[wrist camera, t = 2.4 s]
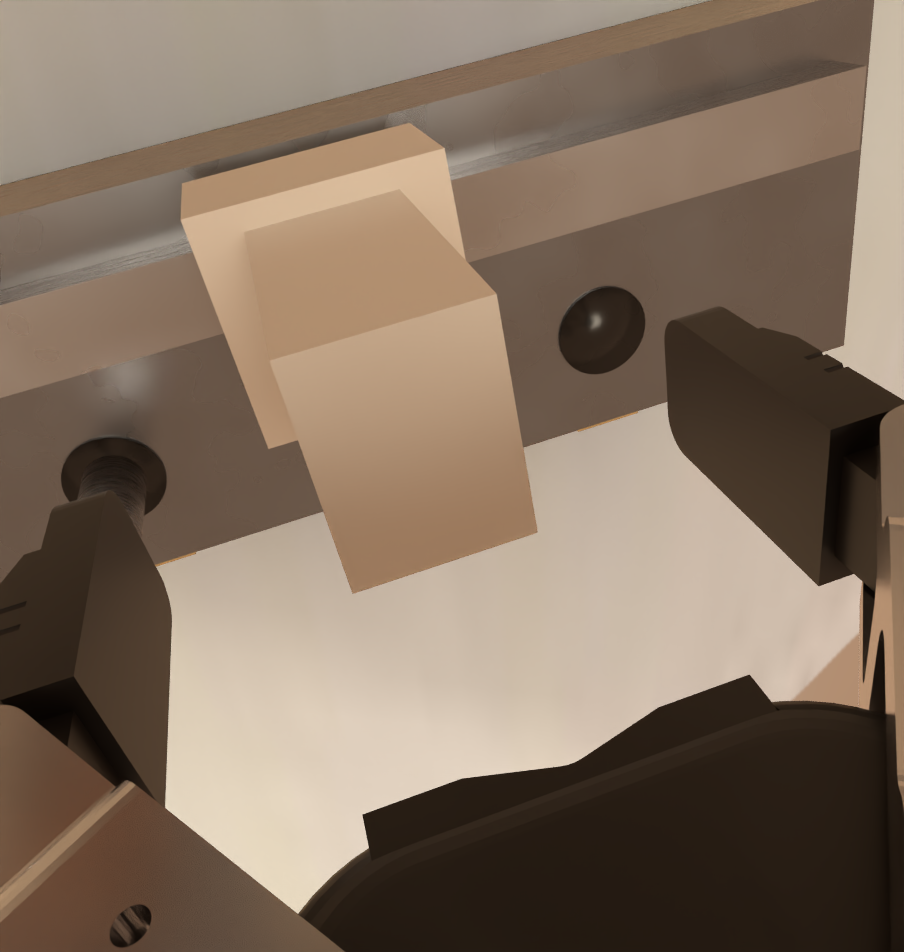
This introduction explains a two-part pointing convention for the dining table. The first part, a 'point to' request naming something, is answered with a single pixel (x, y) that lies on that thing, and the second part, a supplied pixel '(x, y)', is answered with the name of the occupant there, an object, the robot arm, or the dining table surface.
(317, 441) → the tan slider handle
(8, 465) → the hole bar
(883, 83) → the dining table surface
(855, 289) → the dining table surface
